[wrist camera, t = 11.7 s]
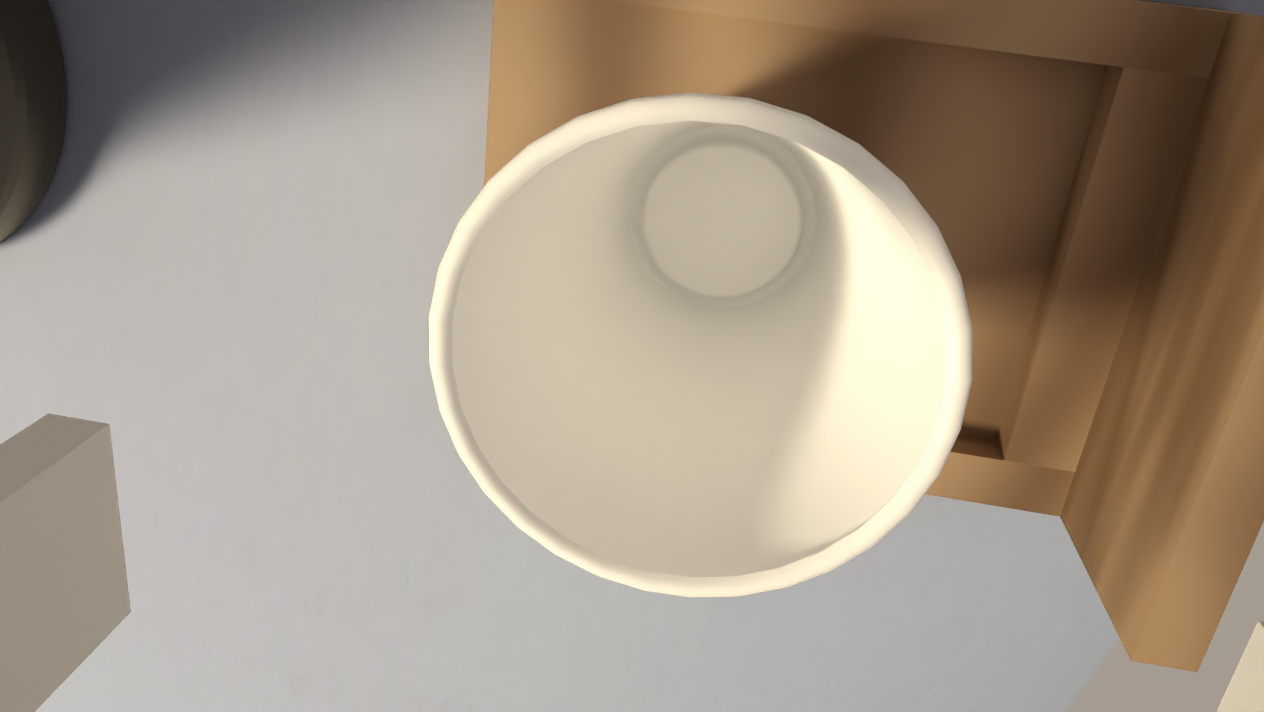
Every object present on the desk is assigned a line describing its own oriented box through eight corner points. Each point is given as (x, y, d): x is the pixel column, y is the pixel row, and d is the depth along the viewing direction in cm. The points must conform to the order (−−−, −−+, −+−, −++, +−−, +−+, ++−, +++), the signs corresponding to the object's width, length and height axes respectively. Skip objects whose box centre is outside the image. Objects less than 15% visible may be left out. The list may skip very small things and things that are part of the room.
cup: (949, 312, 28) (1044, 520, 18) (633, 419, 31) (563, 652, 21) (830, -30, 25) (864, -11, 15) (492, 123, 28) (329, 226, 18)
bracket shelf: (493, 368, 34) (386, 528, 24) (521, -78, 28) (395, -87, 19) (1077, 463, 32) (1197, 672, 23) (1230, 11, 26) (1470, 47, 17)
